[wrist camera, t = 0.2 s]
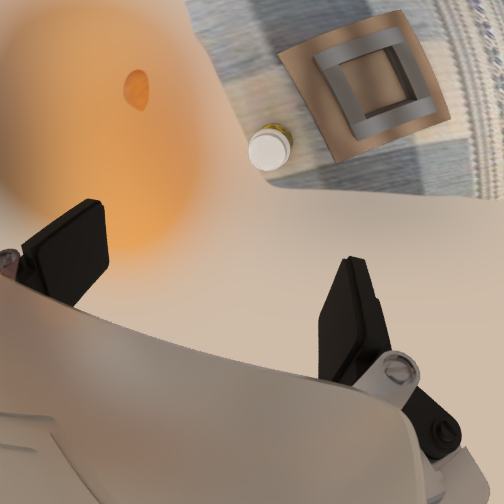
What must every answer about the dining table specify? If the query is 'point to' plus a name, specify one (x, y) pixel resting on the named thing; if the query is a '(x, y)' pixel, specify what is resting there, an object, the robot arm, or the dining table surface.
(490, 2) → the dining table surface
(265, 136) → the supplement bottle
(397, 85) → the pocket board
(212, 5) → the dining table surface
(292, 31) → the dining table surface
